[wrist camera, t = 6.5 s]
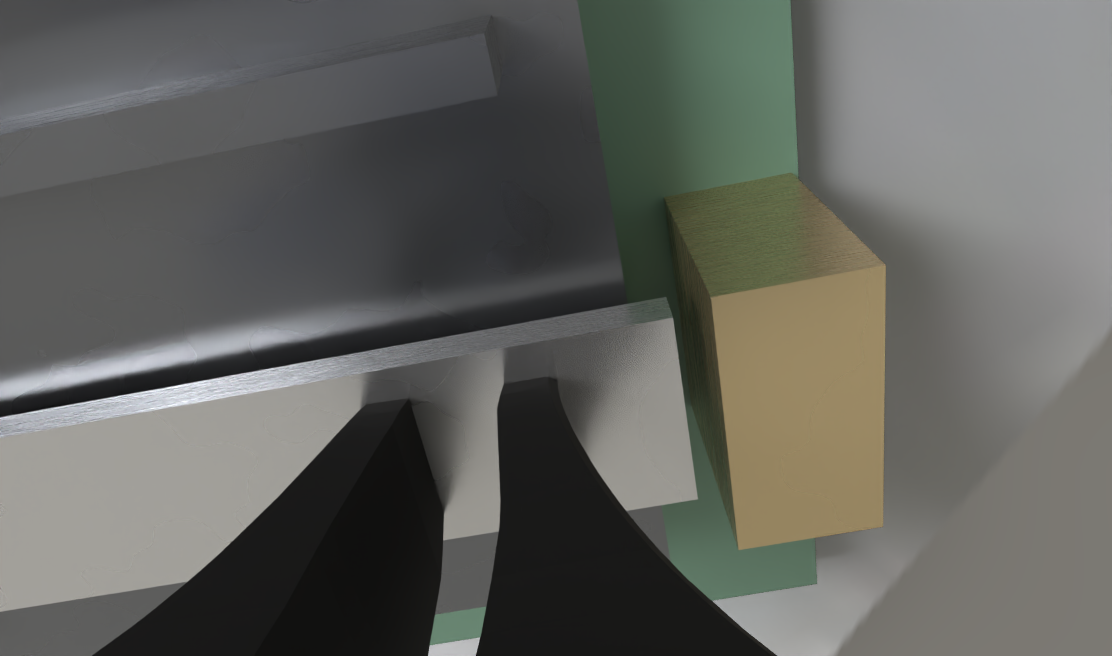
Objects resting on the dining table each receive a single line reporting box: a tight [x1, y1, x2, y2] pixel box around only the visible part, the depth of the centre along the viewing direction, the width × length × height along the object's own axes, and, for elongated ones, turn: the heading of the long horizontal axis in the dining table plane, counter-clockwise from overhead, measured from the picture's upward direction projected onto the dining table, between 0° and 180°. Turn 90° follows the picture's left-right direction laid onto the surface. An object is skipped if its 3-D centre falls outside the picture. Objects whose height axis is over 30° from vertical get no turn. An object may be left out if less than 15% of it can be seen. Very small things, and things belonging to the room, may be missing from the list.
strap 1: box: [0, 297, 698, 612], centre depth 11 cm, size 12×3×1 cm, turn 101°
